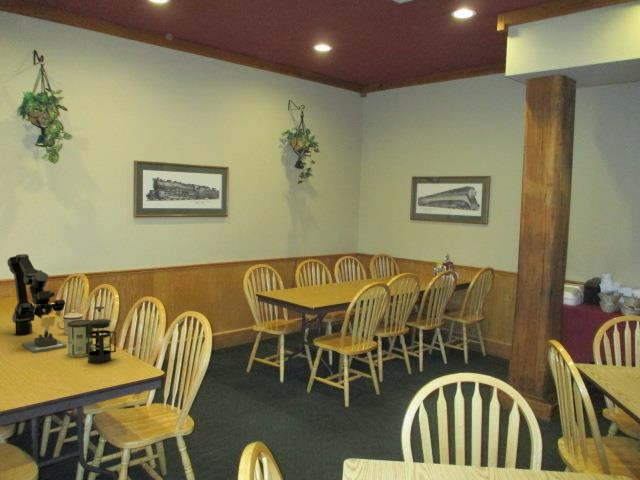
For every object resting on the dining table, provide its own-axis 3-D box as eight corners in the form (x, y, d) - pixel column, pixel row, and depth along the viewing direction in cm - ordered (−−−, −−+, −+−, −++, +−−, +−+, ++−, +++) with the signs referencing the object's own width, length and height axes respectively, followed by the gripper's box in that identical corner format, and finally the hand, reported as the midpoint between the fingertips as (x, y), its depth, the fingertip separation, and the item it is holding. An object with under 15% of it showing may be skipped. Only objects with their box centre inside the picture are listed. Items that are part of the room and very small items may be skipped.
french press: (87, 365, 220) (87, 310, 218) (84, 359, 227) (83, 306, 226) (117, 361, 226) (117, 307, 224) (113, 355, 234) (113, 303, 232)
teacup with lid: (82, 330, 276) (81, 308, 275) (84, 334, 268) (84, 311, 267) (56, 332, 270) (56, 310, 269) (58, 337, 262) (57, 313, 261)
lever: (39, 336, 242) (41, 315, 238) (50, 334, 245) (53, 313, 242) (40, 338, 241) (43, 317, 237) (52, 336, 244) (55, 316, 240)
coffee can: (87, 349, 243) (86, 318, 242) (97, 353, 236) (96, 322, 235) (63, 353, 235) (63, 321, 234) (73, 358, 228) (73, 326, 227)
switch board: (22, 345, 246) (21, 332, 245) (54, 340, 256) (54, 328, 255) (33, 353, 234) (33, 339, 234) (66, 347, 244) (66, 334, 244)
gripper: (19, 286, 237) (27, 314, 230) (63, 282, 251) (72, 309, 243) (14, 301, 244) (22, 329, 236) (57, 296, 257) (66, 323, 250)
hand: (46, 322), depth 241 cm, fingers closed, pressing on lever
